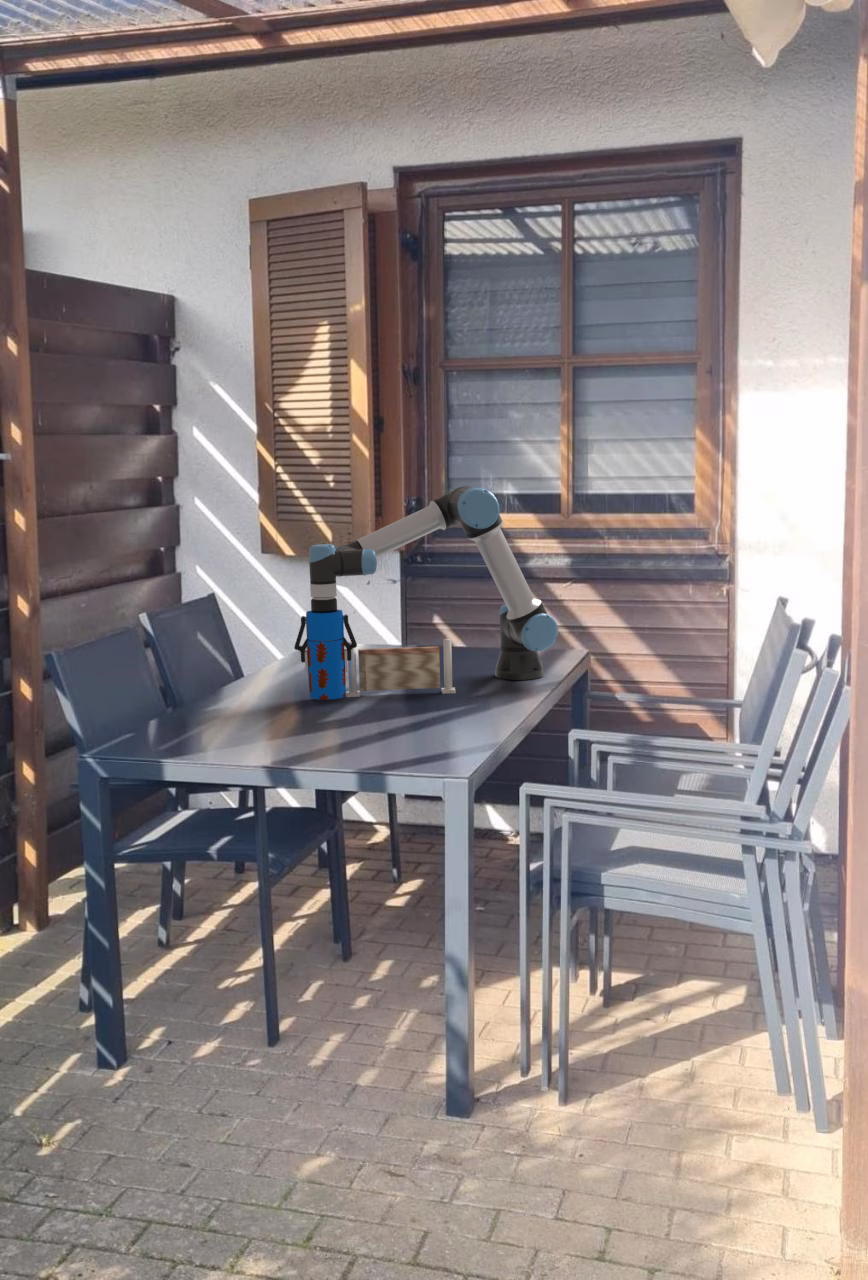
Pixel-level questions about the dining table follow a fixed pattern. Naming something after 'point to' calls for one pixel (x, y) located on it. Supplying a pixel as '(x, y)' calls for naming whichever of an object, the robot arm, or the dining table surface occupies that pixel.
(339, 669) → the thermos
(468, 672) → the dining table surface
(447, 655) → the gate posts
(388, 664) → the gate
